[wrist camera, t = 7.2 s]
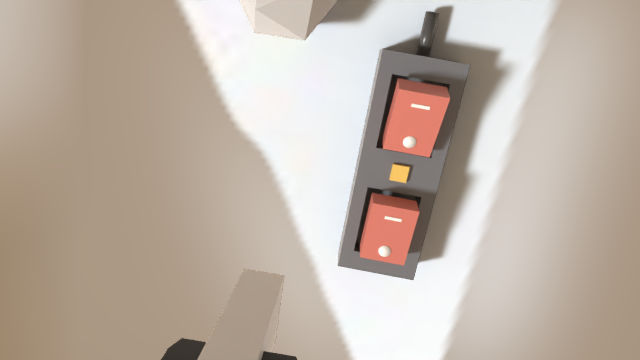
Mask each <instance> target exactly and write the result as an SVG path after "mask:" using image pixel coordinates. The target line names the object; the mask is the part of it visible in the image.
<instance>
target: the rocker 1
mask: <svg viewBox="0 0 640 360" xmlns="http://www.w3.org/2000/svg"><path fill="white" fill-rule="evenodd" d="M449 101H450V96H449V93H448V89H447V87H443V86H438V85H432V84H427V83H421V82H416V81H410V80H405V79H399V78H398V81H397V84H396V88H395V92H394V96H393V100H392V103H391V107H390V111H389V115H388V119H387V122H386V126H385V130H384V134H383V149H387V150H392V151H398V152H403V153H409V154H414V155H419V156H425V157H430V155H431V152H432V149H433V146H434V143H435V141H436V138H437V135H438V132H439V129H440V126H441V124H442V121H443V118H444V115H445V112H446V109H447V106H448V104H449Z"/></svg>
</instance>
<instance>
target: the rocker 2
mask: <svg viewBox="0 0 640 360" xmlns="http://www.w3.org/2000/svg"><path fill="white" fill-rule="evenodd" d="M418 216H419V208H418V205H417V201H414V200H409V199H403V198H398V197H393V196H387V195H382V194H377V193H372V195H371V199H370V204H369V208H368V212H367V216H366V221H365V225H364V229H363V233H362V237H361V242H360V257H361V258H367V259H372V260H377V261H383V262H388V263H393V264H398V265H404V264H405V260H406V257H407V254H408V250H409V247H410V243H411V240H412V236H413V233H414V229H415V226H416V223H417V219H418Z"/></svg>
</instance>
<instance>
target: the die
mask: <svg viewBox="0 0 640 360" xmlns="http://www.w3.org/2000/svg"><path fill="white" fill-rule="evenodd" d="M239 1H240V3H241V5H242V7H243V9H244V12H245V14H246V16H247V18H248V20H249V22H250V24H251V27H252V29H253V31H254V33H260V34H266V35H273V36H279V37H286V38H292V39H299V40H306V38H307V37H308V36H309V35H310V34H311V32H312V31H313V30H314V29H315V28H316V26H317V25H318V24H319V23H320V21H321V20H322V19H323V18H324V17H325V15H326V14H327V13H328V12H329V11H330V9H331V8H332V7H333V6H334V5H335V3H336V2H337V1H338V0H239Z"/></svg>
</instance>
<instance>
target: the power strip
mask: <svg viewBox="0 0 640 360" xmlns="http://www.w3.org/2000/svg"><path fill="white" fill-rule="evenodd" d="M438 16H439V13H435V12H426V14H425V18H424V23H423V27H422V31H421V36H420V40H419V45H418V49H417V53H416V55H414V54H408V53H403V52H397V51H392V50H386V49H381V50H380V52H379V57H378V62H377V67H376V72H375V77H374V81H373V86H372V91H371V96H370V101H369V106H368V111H367V116H366V120H365V125H364V130H363V135H362V140H361V145H360V150H359V155H358V159H357V164H356V169H355V174H354V179H353V184H352V189H351V194H350V198H349V203H348V208H347V213H346V218H345V223H344V228H343V233H342V238H341V242H340V247H339V254H338V266H341V267H347V268H352V269H357V270H362V271H368V272H373V273H378V274H384V275H389V276H394V277H399V278H405V279H410V280H414V276H415V272H416V268H417V265H418V261H419V257H420V253H421V249H422V246H423V242H424V238H425V234H426V230H427V227H428V223H429V219H430V215H431V212H432V208H433V204H434V200H435V196H436V193H437V189H438V185H439V181H440V177H441V174H442V170H443V166H444V162H445V159H446V155H447V151H448V147H449V143H450V140H451V136H452V132H453V128H454V124H455V121H456V117H457V113H458V109H459V106H460V102H461V98H462V94H463V90H464V87H465V83H466V79H467V75H468V71H469V68H470V65H469V64H464V63H458V62H453V61H447V60H442V59H436V58H431V57H429V54H430V50H431V45H432V41H433V37H434V33H435V28H436V24H437V20H438ZM398 78H399V79H405V80H410V81H416V82H421V83H427V84H432V85H438V86H443V87H447V89H448V93H449V96H450V101H449V104H448V106H447V109H446V112H445V115H444V118H443V121H442V124H441V126H440V129H439V132H438V135H437V138H436V141H435V143H434V146H433V149H432V152H431V155H430V157H425V156H419V155H414V154H409V153H403V152H398V151H392V150H387V149H383V134H384V130H385V126H386V122H387V119H388V115H389V111H390V107H391V103H392V100H393V96H394V92H395V88H396V84H397V81H398ZM372 193H377V194H382V195H387V196H393V197H398V198H403V199H409V200H414V201H417V205H418V208H419V216H418V219H417V223H416V226H415V229H414V233H413V236H412V240H411V243H410V247H409V250H408V254H407V257H406V260H405V264H404V265H398V264H393V263H388V262H383V261H377V260H372V259H367V258H361V257H360V242H361V237H362V233H363V229H364V225H365V221H366V216H367V212H368V208H369V204H370V199H371V195H372Z"/></svg>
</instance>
